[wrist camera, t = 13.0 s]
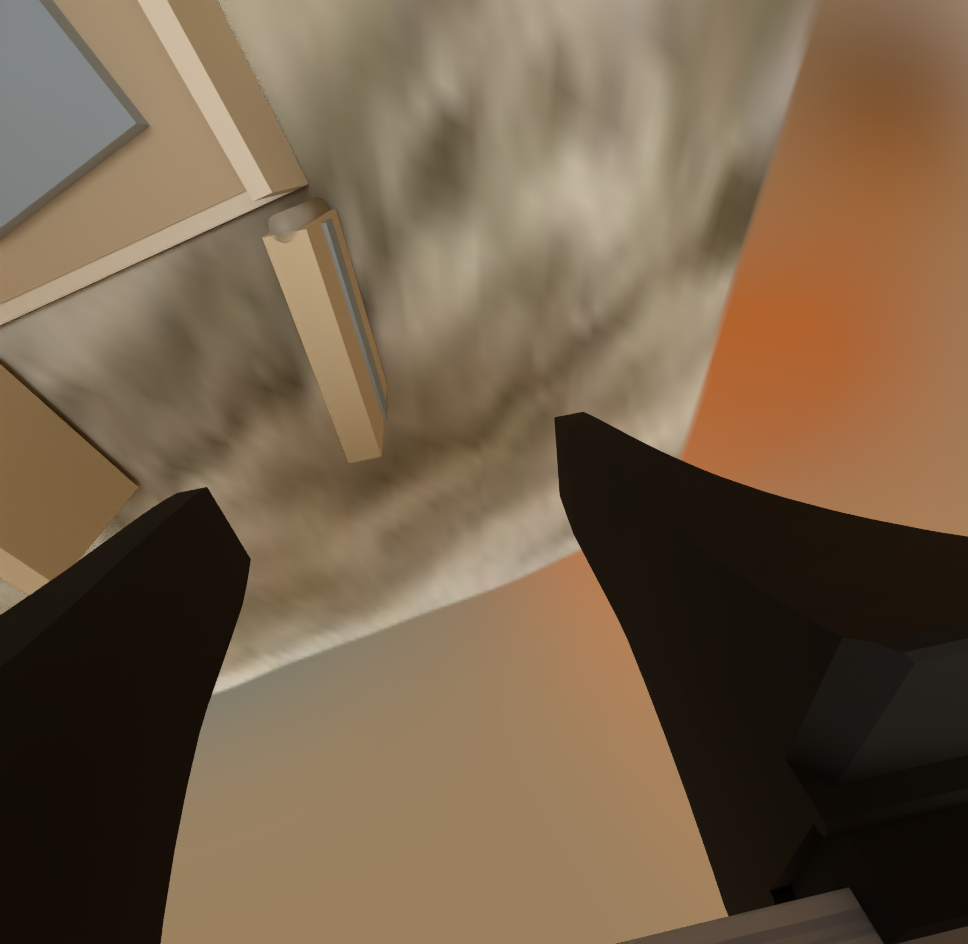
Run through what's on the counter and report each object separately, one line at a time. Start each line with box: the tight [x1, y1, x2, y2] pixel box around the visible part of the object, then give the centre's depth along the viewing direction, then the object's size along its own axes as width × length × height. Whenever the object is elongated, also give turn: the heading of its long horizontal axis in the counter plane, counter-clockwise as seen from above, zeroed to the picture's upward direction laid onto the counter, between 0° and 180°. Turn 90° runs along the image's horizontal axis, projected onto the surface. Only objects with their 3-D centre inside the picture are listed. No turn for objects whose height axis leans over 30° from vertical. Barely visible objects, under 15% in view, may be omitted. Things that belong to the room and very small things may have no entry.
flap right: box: [262, 198, 388, 463], centre depth 14 cm, size 7×1×6 cm, turn 9°
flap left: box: [0, 364, 138, 595], centre depth 15 cm, size 7×1×6 cm, turn 24°
